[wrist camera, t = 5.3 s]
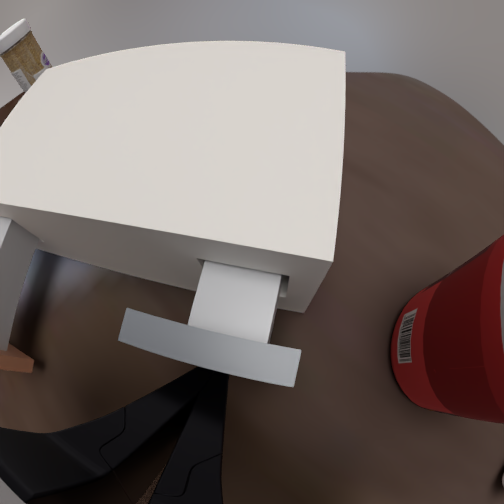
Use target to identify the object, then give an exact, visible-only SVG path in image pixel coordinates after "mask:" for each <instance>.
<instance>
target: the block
mask: <svg viewBox="0 0 504 504" xmlns="http://www.w3.org/2000/svg"><path fill="white" fill-rule="evenodd" d="M344 125H345V52H343V51H338V50H332V49H325V48H319V47H312V46H305V45H296V44H285V43H273V42H256V41H205V42H204V41H203V42H185V43H172V44H162V45H154V46H146V47H139V48H133V49H127V50H121V51H115V52H110V53H106V54H101V55H96V56H92V57H88V58H84V59H80V60H76V61H72V62H69V63H65V64H62V65H58V66H55V67H52V68H49V69H46V70H45V71H44V72H43V73H42V75H41V76H40V77H39V78H38V79H37V80H36V81H35V83H34V84H33V85H32V86H31V87H30V89H29V90H28V91H27V92H26V93H25V95H24V96H23V97H22V98H21V100H20V101H19V102H18V104H17V105H16V106H15V108H14V109H13V110H12V112H11V113H10V114H9V116H8V117H7V119H6V120H5V121H4V123H3V124H2V126H1V127H0V216H2V217H6V218H11V219H12V220H14V221H15V222H16V223H18V224H19V225H20V226H22V227H23V228H25V229H26V230H27V231H29V232H30V233H32V234H33V235H35V236H36V237H38V238H39V241H38V244H37V246H36V249H39V250H43V251H46V252H49V253H53V254H56V255H59V256H63V257H66V258H69V259H73V260H76V261H80V262H83V263H87V264H90V265H94V266H98V267H101V268H105V269H109V270H112V271H116V272H120V273H124V274H128V275H131V276H135V277H139V278H143V279H147V280H151V281H155V282H159V283H163V284H168V285H172V286H176V287H180V288H184V289H189V290H193V291H197V287H198V284H199V280H200V277H201V273H202V269H203V266H204V262H205V260H209V261H214V262H219V263H224V264H229V265H234V266H240V267H245V268H250V269H255V270H261V271H266V272H271V273H277V274H282V275H284V276H283V281H282V286H281V291H280V296H279V301H278V306H277V308H279V309H284V310H289V311H295V312H300V313H304V312H305V311H306V309H307V307H308V305H309V304H310V302H311V300H312V298H313V297H314V295H315V293H316V291H317V290H318V288H319V286H320V284H321V283H322V281H323V279H324V277H325V275H326V273H327V272H328V270H329V268H330V266H331V264H332V262H333V257H334V249H335V241H336V232H337V223H338V213H339V203H340V191H341V179H342V164H343V148H344Z"/></svg>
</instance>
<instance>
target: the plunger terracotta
mask: <svg viewBox="0 0 504 504" xmlns="http://www.w3.org/2000/svg"><path fill="white" fill-rule="evenodd" d="M38 241H39V238H38V237H36V236H35V235H33V234H32V233H30V232H29V231H27V230H26V229H25V228H23V227H22V226H20V225H19V224H18V223H16V222H15V221H14V220H12V219H11V218H6V217H2V216H0V369H1V370H9V371H17V372H27V373H32V369H33V364H34V360H33V359H32V358H30V357H29V356H27V355H26V354H24V353H23V352H21V351H20V350H18V349H17V348H15V347H14V346H12V345H11V344H9V338H10V334H11V329H12V325H13V320H14V316H15V312H16V309H17V305H18V301H19V298H20V294H21V291H22V287H23V284H24V281H25V278H26V275H27V272H28V269H29V266H30V263H31V260H32V257H33V254H34V252H35V249H36V246H37V244H38Z"/></svg>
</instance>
